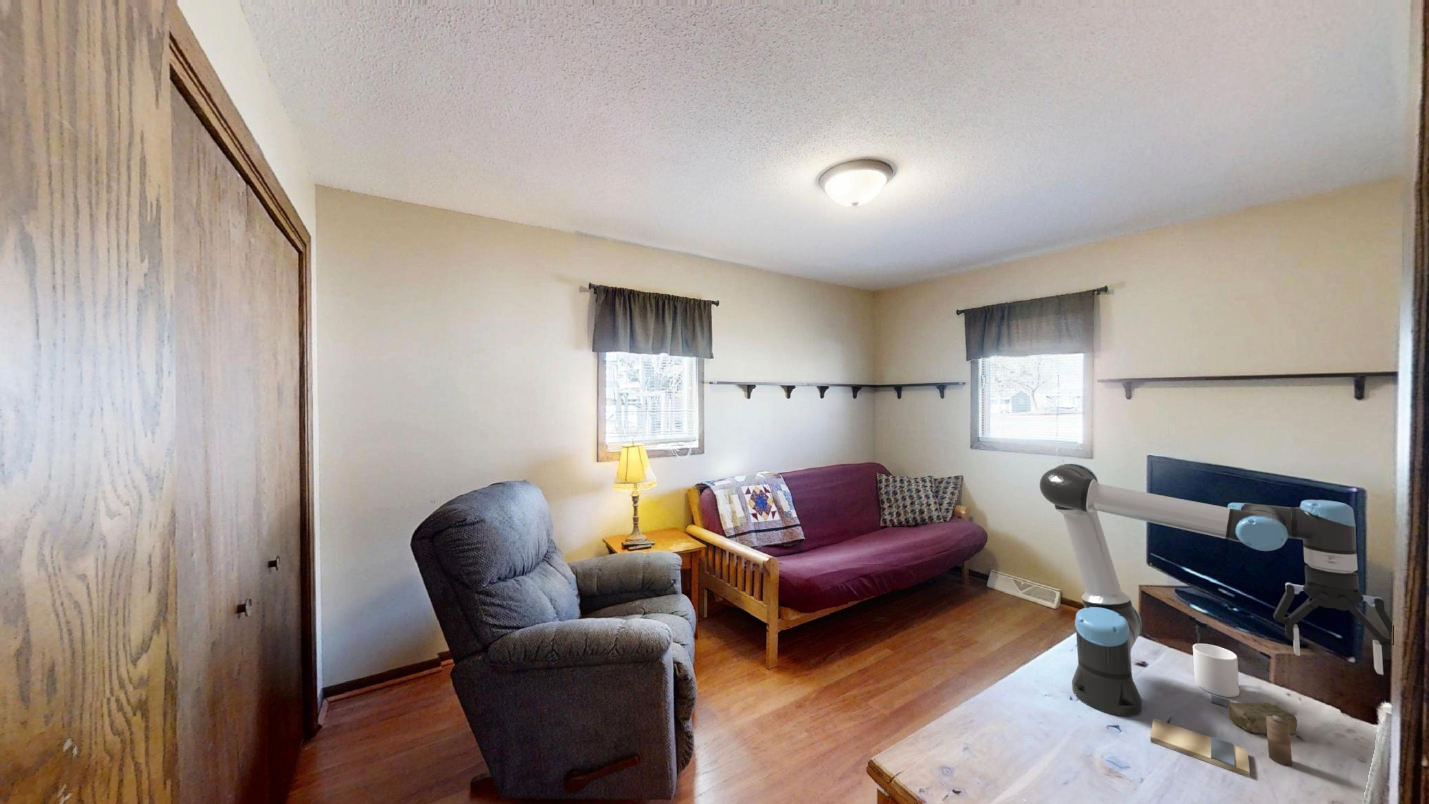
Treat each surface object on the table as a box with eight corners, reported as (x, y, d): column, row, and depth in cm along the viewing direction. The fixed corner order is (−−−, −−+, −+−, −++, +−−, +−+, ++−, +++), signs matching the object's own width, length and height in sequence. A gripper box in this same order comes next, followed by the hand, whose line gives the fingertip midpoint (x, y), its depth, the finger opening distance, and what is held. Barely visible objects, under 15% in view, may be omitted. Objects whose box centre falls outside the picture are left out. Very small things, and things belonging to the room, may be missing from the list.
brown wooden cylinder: (1269, 760, 106) (1266, 717, 106) (1268, 752, 108) (1265, 710, 108) (1293, 768, 103) (1290, 724, 104) (1291, 760, 106) (1288, 717, 106)
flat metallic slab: (1150, 741, 113) (1150, 735, 113) (1160, 681, 136) (1160, 676, 136) (1250, 777, 102) (1249, 770, 102) (1242, 705, 124) (1242, 699, 124)
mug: (1253, 690, 130) (1250, 652, 130) (1229, 701, 126) (1226, 662, 126) (1211, 674, 138) (1209, 638, 138) (1188, 684, 134) (1185, 647, 134)
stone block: (1300, 736, 113) (1299, 716, 113) (1248, 736, 114) (1247, 715, 114) (1274, 720, 119) (1273, 700, 119) (1225, 720, 120) (1223, 700, 120)
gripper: (1255, 561, 114) (1260, 650, 114) (1425, 585, 97) (1432, 690, 97) (1253, 553, 119) (1258, 639, 119) (1414, 574, 102) (1420, 674, 102)
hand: (1336, 662), depth 108 cm, fingers open, 11 cm apart
